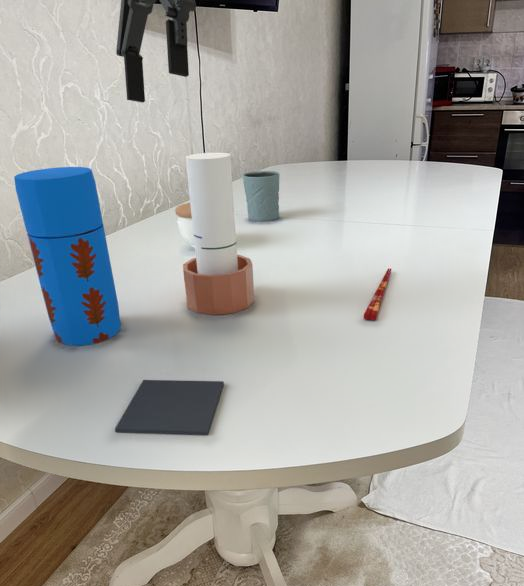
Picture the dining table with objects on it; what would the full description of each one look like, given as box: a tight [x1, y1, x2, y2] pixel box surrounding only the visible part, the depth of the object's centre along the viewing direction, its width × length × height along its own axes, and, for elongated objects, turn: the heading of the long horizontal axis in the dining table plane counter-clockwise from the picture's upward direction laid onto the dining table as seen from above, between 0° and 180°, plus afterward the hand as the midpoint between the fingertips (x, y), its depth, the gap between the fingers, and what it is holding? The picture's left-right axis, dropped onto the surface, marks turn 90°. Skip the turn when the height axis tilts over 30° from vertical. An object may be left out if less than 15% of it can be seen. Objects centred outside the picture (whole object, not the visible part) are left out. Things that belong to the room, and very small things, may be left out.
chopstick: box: [363, 267, 392, 321], centre depth 95 cm, size 2×24×1 cm, turn 161°
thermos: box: [13, 166, 122, 347], centre depth 80 cm, size 11×11×25 cm
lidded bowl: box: [174, 202, 195, 249], centre depth 125 cm, size 13×13×11 cm
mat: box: [114, 379, 225, 436], centre depth 65 cm, size 11×11×1 cm
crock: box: [182, 254, 255, 316], centre depth 93 cm, size 12×12×7 cm
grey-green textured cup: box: [242, 170, 280, 223], centre depth 145 cm, size 10×10×12 cm
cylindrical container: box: [185, 152, 238, 275], centre depth 89 cm, size 7×7×25 cm
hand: (156, 88), depth 77 cm, fingers open, 13 cm apart
